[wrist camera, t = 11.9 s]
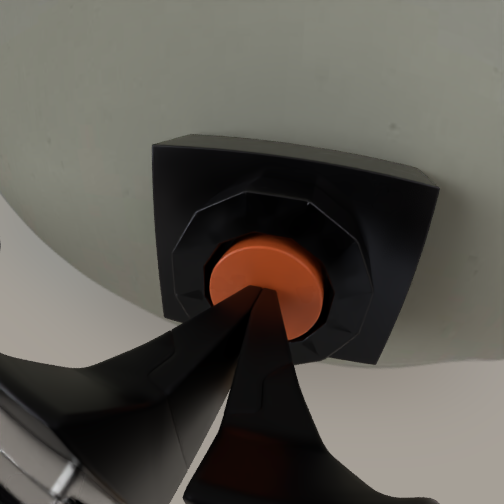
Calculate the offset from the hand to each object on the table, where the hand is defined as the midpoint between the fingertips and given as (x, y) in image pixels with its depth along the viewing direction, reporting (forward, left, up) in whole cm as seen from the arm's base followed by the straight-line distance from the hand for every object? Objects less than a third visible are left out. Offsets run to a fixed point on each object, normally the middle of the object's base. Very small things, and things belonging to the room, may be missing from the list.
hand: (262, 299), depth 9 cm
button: (0, 0, -2) cm, 2 cm away
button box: (0, 0, -5) cm, 5 cm away
